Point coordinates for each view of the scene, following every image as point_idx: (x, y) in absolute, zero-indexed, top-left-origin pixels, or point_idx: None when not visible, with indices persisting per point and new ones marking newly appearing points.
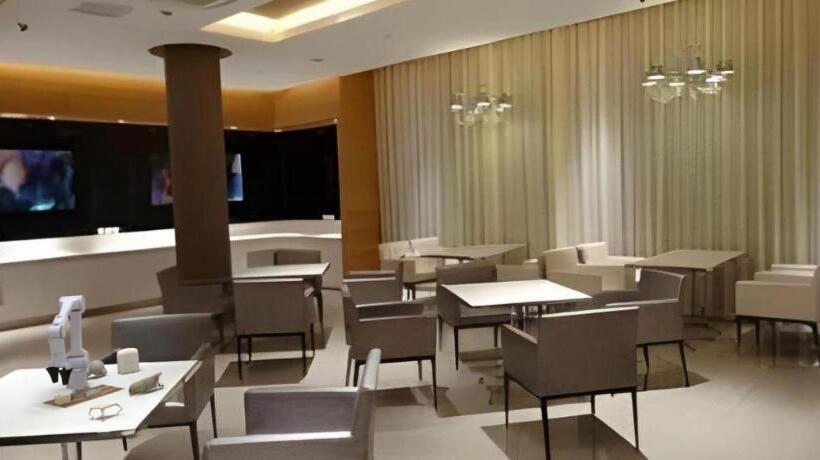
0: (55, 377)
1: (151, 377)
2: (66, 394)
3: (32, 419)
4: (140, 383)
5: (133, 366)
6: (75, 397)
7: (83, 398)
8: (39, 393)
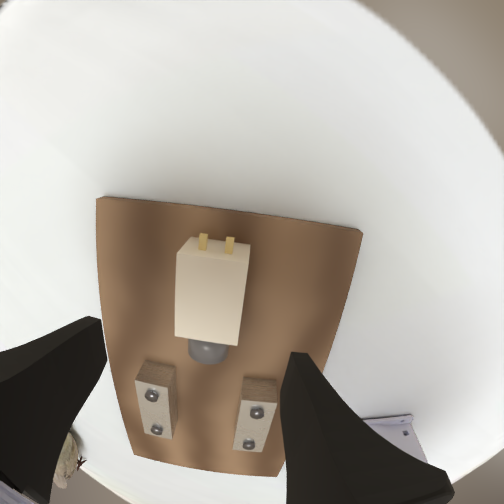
0: (292, 421)
1: None
2: (192, 323)
3: (159, 19)
4: None
5: None
6: (229, 364)
7: (163, 359)
8: (484, 347)
